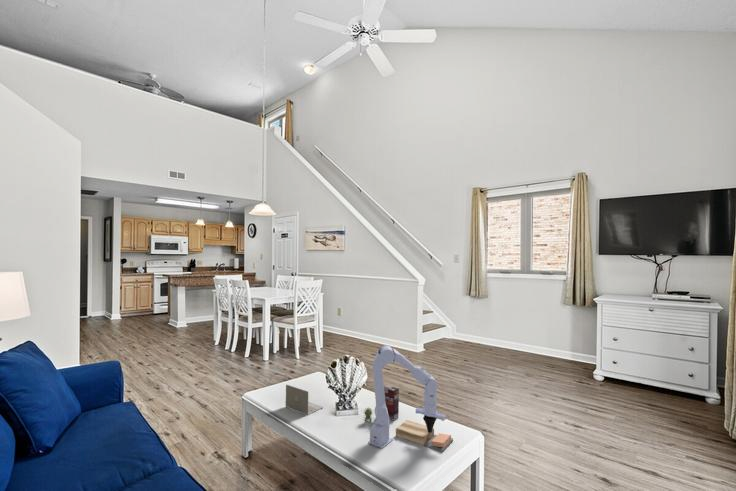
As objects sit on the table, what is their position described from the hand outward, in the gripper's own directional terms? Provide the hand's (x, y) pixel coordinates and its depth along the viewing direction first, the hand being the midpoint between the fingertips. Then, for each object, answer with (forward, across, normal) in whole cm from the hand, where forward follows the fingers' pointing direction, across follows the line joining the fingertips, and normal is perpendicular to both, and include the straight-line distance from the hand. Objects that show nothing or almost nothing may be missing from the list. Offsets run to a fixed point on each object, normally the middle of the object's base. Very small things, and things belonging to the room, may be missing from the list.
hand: (430, 431), depth 174 cm
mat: (+4, -4, 0) cm, 6 cm away
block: (+1, -6, 0) cm, 6 cm away
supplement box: (+4, +28, -10) cm, 30 cm away
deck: (+4, +8, 0) cm, 9 cm away
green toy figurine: (+4, +34, +2) cm, 35 cm away
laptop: (+5, +74, +8) cm, 75 cm away
